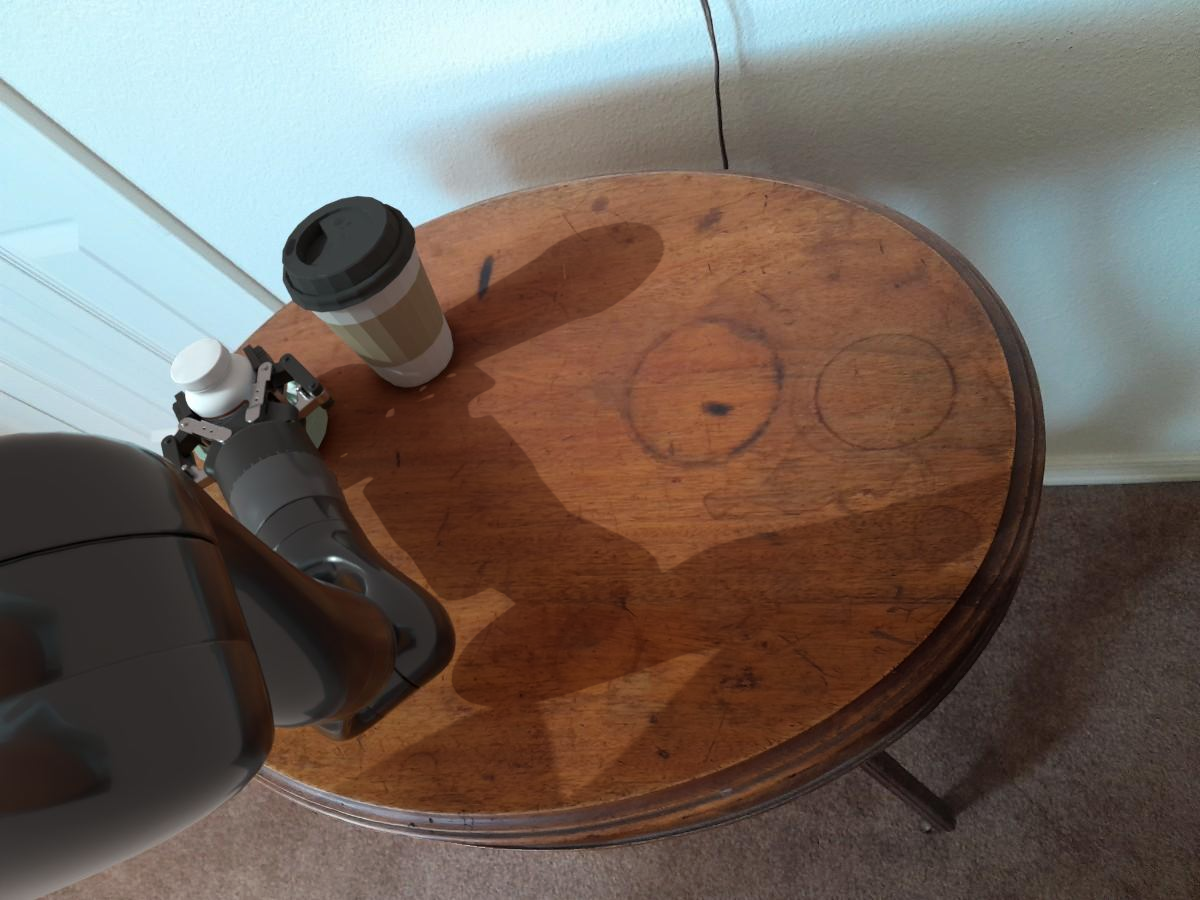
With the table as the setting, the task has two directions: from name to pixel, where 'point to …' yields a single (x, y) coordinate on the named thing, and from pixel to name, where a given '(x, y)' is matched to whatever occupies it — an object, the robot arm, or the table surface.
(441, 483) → the table surface
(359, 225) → the coffee cup
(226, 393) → the pill bottle
